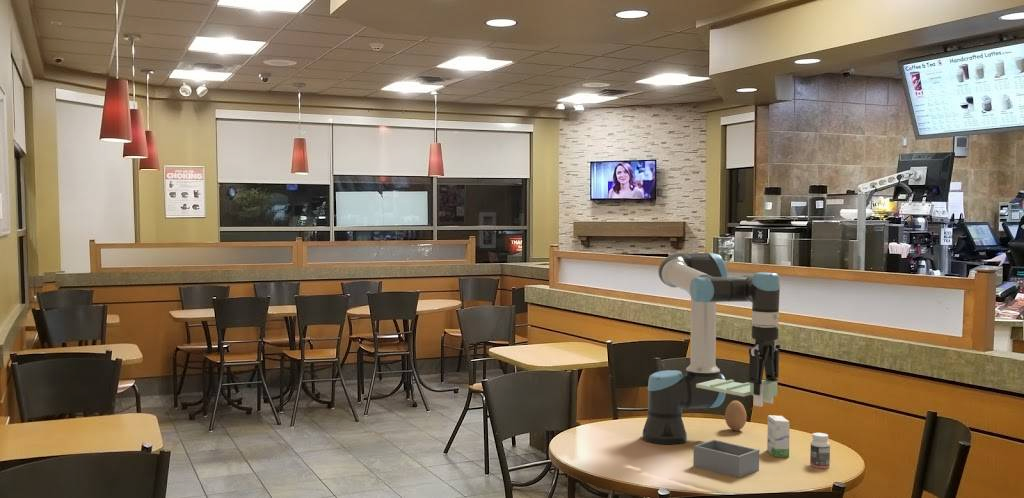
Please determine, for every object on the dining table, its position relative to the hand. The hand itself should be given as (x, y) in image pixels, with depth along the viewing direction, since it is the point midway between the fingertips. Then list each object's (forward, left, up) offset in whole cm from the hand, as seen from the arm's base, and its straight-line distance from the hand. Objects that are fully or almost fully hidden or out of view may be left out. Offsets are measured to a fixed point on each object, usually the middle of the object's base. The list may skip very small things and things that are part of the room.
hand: (763, 404), depth 249 cm
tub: (-12, 0, -22) cm, 26 cm away
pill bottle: (+5, +26, -23) cm, 35 cm away
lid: (-8, 0, +3) cm, 9 cm away
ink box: (-11, +29, -23) cm, 38 cm away
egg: (-37, +45, -23) cm, 63 cm away
